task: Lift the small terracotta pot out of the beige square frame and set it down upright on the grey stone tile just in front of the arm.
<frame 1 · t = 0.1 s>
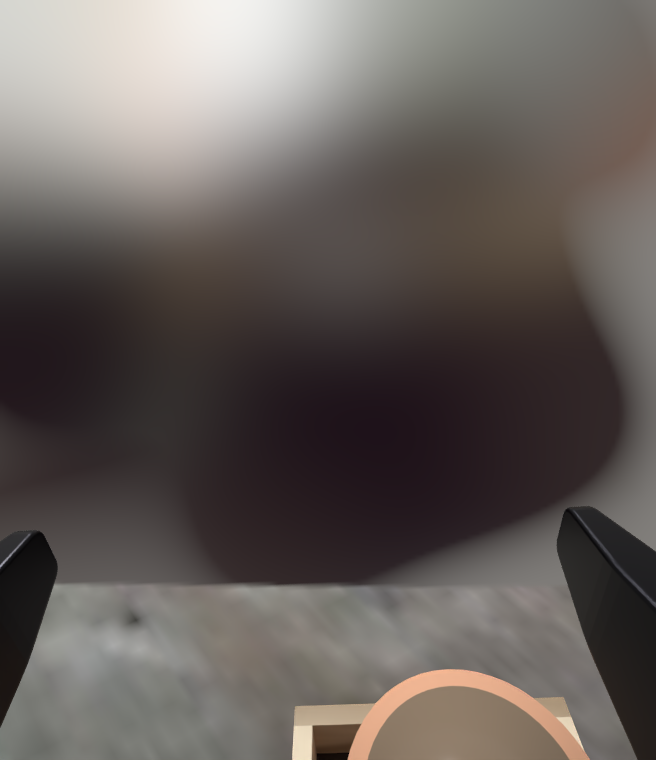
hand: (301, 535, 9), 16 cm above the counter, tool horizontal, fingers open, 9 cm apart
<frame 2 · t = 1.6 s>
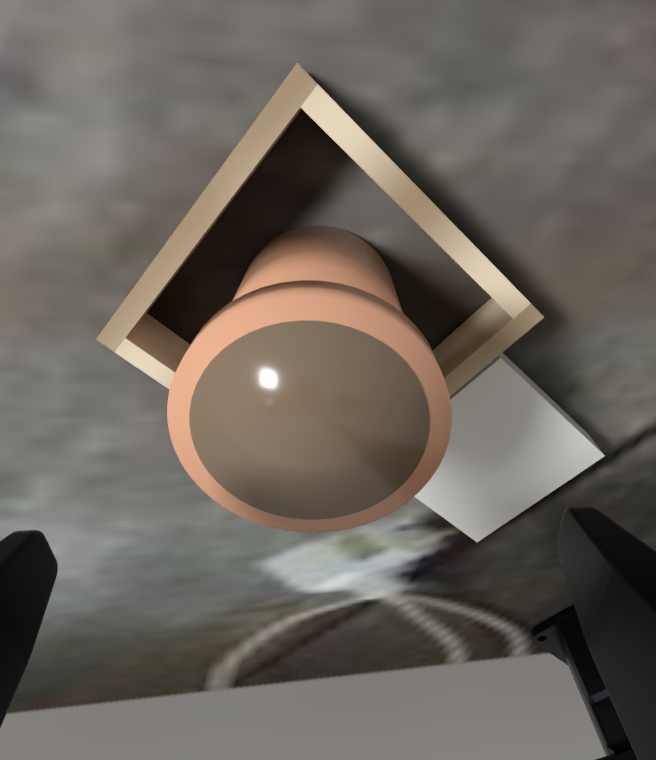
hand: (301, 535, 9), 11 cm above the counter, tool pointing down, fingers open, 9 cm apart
beige square frame: (318, 304, 18), on the counter
stone tile: (477, 438, 21), on the counter
terracotta pot: (314, 352, 15), in the beige square frame
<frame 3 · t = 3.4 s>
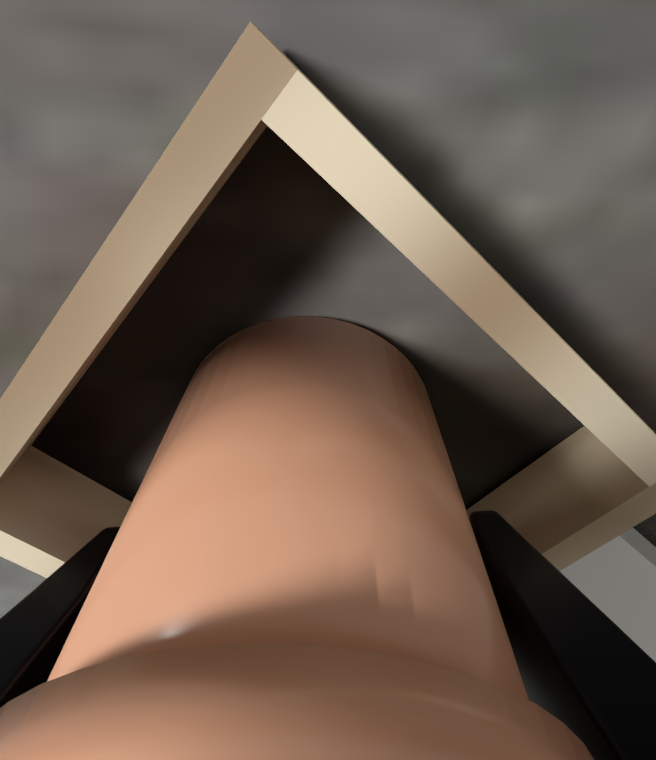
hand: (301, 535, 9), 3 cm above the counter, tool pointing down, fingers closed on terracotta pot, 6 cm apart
beige square frame: (307, 432, 11), on the counter
stone tile: (547, 602, 14), on the counter
terracotta pot: (298, 583, 8), in the beige square frame, touching gripper
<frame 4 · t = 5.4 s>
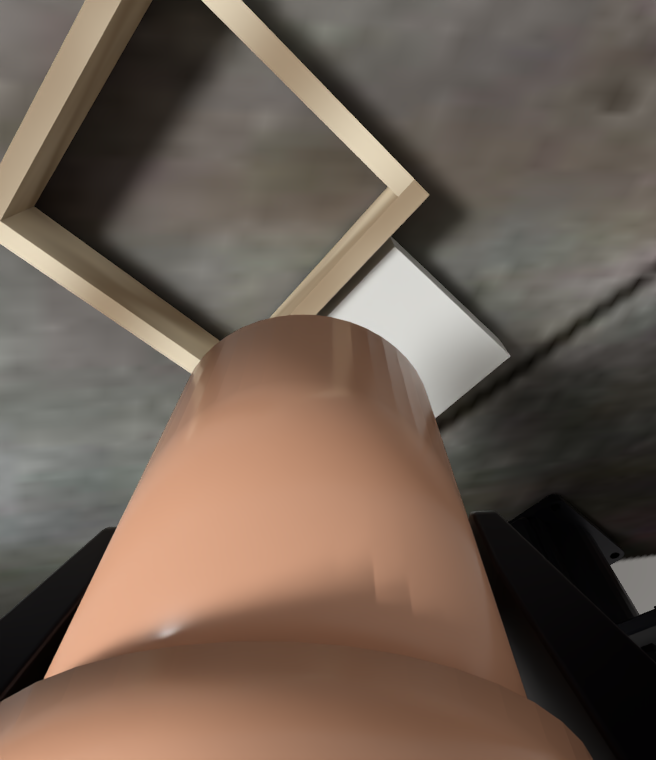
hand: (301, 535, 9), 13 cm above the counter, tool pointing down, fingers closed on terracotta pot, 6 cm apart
beige square frame: (210, 195, 18), on the counter
stone tile: (388, 345, 21), on the counter
terracotta pot: (296, 582, 8), point 14 cm above the counter, touching gripper
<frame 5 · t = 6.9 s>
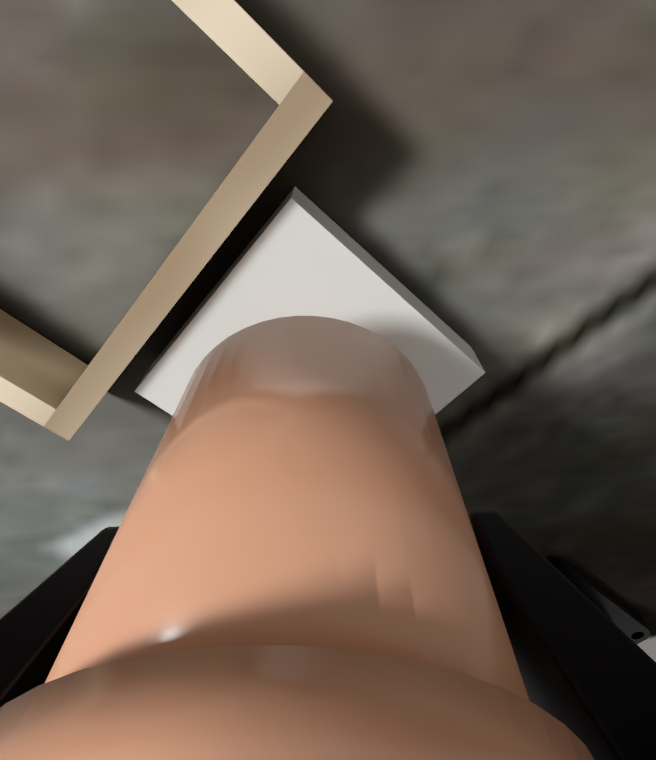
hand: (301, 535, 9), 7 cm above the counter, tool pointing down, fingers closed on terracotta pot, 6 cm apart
beige square frame: (7, 121, 11), on the counter
stone tile: (309, 355, 14), on the counter
terracotta pot: (298, 584, 8), point 8 cm above the counter, touching gripper
when the fingers open (6 cm above the counter, at t = 7.9 s): terracotta pot drops 1 cm, resting on stone tile.
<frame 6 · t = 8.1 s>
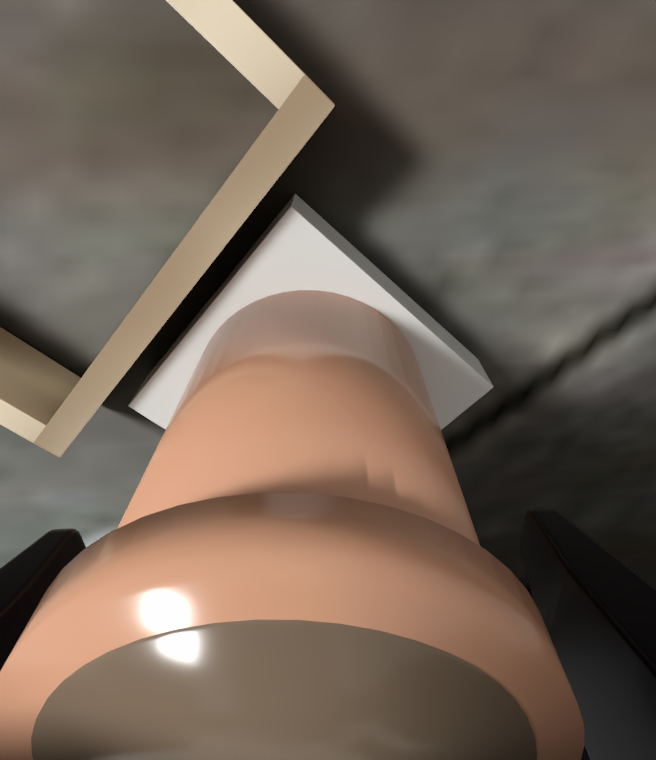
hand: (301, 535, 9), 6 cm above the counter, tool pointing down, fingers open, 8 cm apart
stone tile: (310, 367, 14), on the counter
terracotta pot: (302, 513, 9), on the stone tile, point 6 cm above the counter
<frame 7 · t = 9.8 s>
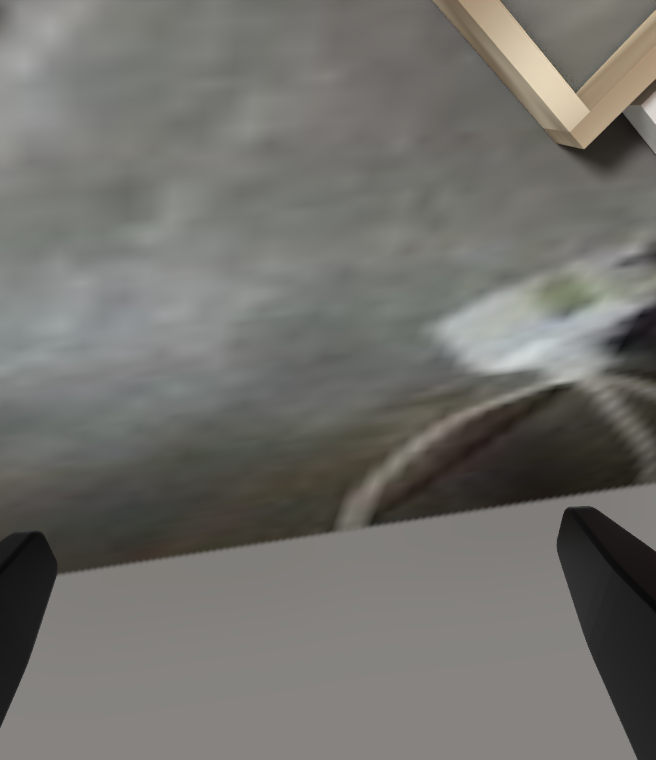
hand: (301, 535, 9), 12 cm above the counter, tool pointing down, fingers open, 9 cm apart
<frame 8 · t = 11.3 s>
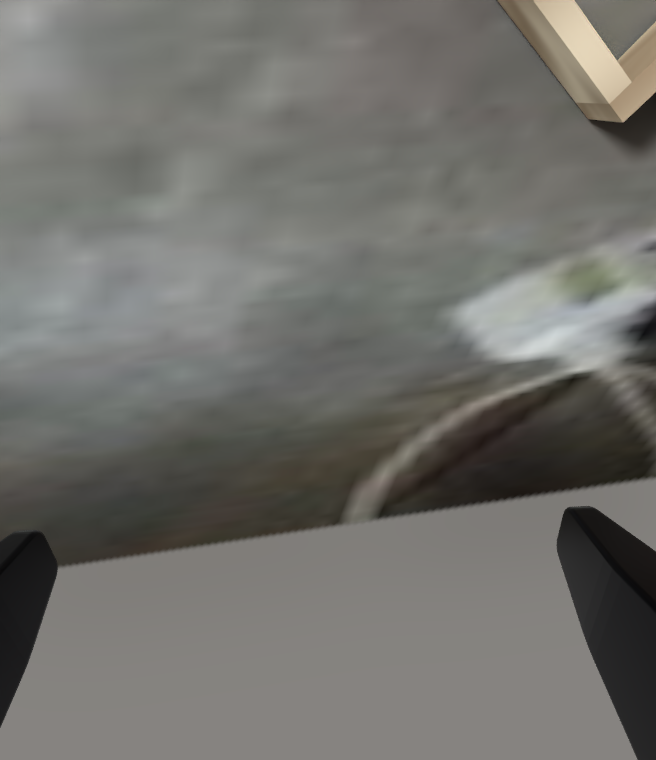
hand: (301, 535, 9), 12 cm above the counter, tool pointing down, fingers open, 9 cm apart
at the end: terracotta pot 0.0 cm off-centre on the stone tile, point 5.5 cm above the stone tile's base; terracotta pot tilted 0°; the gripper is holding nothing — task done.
